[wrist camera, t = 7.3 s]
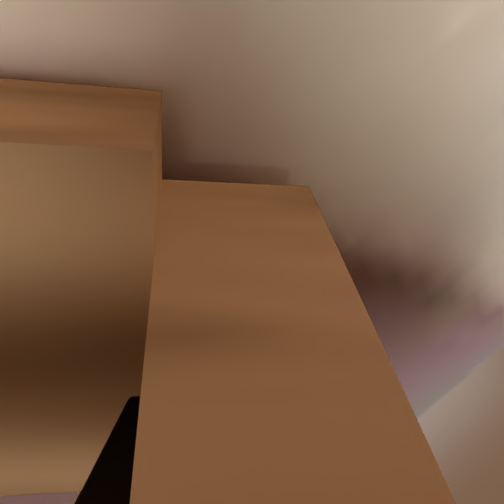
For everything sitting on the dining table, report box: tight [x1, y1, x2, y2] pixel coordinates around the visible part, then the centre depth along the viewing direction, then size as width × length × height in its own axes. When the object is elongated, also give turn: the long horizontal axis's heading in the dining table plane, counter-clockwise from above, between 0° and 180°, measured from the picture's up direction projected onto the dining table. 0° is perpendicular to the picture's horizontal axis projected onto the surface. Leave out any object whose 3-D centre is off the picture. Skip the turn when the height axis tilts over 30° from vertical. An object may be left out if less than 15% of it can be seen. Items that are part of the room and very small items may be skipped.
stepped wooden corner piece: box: [0, 78, 456, 504], centre depth 8 cm, size 10×8×9 cm
